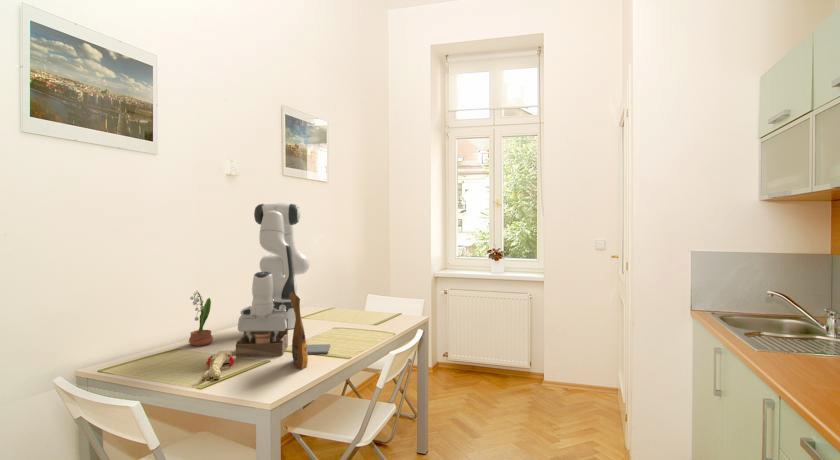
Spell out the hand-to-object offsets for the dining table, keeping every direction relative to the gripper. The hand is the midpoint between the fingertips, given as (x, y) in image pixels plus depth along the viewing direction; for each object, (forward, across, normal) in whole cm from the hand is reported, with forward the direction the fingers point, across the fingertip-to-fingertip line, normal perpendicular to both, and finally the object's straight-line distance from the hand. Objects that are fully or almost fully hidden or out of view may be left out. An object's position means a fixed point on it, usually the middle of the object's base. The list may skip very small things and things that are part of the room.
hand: (262, 341), depth 204 cm
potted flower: (+5, +31, -14) cm, 34 cm away
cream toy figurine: (+5, +11, +24) cm, 27 cm away
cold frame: (+4, 0, 0) cm, 5 cm away
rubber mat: (+4, -23, 0) cm, 23 cm away
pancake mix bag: (+5, -18, +19) cm, 26 cm away
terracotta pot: (+4, 0, 0) cm, 5 cm away
